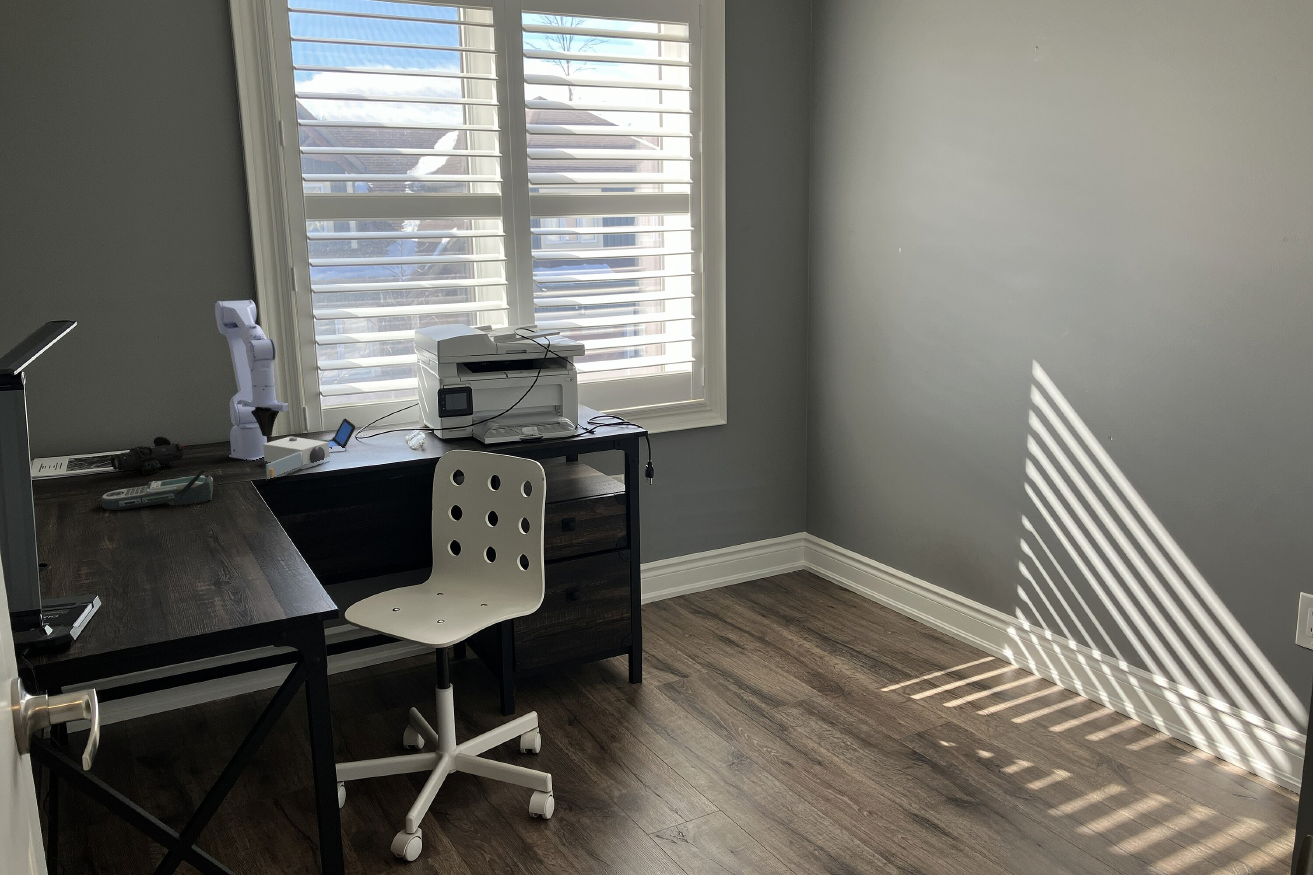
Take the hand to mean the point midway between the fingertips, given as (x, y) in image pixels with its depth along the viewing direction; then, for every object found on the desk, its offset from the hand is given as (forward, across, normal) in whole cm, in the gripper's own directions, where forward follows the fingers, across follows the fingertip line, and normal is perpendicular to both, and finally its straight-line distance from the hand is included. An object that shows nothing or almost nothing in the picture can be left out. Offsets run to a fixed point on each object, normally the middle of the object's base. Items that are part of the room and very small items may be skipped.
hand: (267, 435), depth 261 cm
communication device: (+10, -1, -33) cm, 35 cm away
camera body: (+9, +1, +9) cm, 13 cm away
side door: (+9, +9, -3) cm, 13 cm away
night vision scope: (+10, -26, -16) cm, 32 cm away
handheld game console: (+10, -2, +27) cm, 29 cm away
